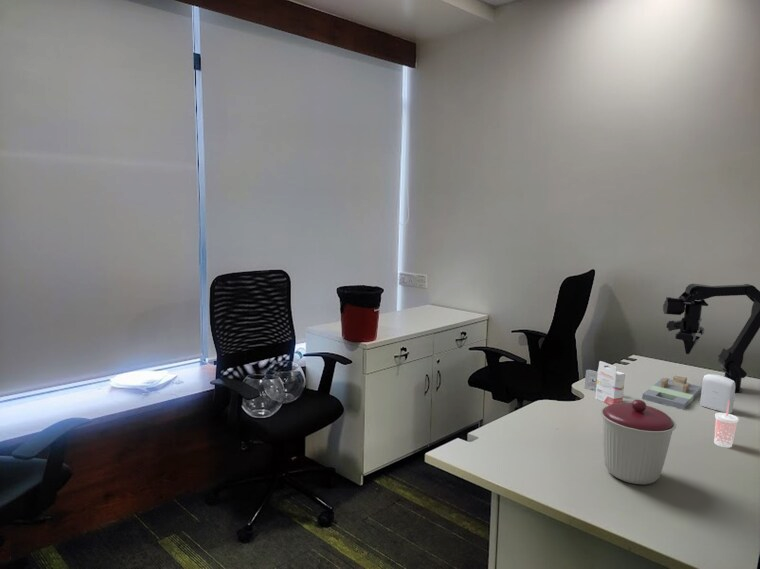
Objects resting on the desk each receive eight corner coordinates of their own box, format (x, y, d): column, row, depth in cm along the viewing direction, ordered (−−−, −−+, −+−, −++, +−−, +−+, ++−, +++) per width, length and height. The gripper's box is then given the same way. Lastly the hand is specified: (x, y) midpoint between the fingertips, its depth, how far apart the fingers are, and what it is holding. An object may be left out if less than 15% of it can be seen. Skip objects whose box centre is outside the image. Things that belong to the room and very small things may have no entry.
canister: (606, 452, 156) (613, 383, 153) (675, 473, 145) (685, 399, 142) (585, 476, 143) (593, 401, 139) (660, 501, 131) (670, 420, 128)
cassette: (583, 388, 209) (585, 370, 208) (585, 387, 211) (587, 368, 209) (615, 396, 202) (617, 377, 200) (617, 395, 203) (619, 376, 202)
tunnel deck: (662, 382, 219) (663, 371, 218) (701, 391, 209) (702, 380, 209) (642, 398, 200) (643, 387, 199) (683, 409, 190) (685, 397, 190)
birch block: (675, 382, 214) (676, 374, 213) (686, 384, 211) (687, 377, 210) (672, 384, 211) (673, 377, 210) (683, 387, 208) (684, 379, 207)
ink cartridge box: (622, 404, 194) (627, 365, 191) (613, 406, 191) (617, 367, 189) (604, 396, 201) (607, 358, 199) (594, 398, 199) (598, 360, 197)
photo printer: (697, 405, 194) (701, 373, 192) (702, 403, 197) (706, 371, 195) (729, 415, 187) (734, 381, 185) (733, 412, 189) (738, 378, 187)
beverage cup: (738, 449, 160) (744, 405, 158) (716, 447, 161) (722, 403, 159) (729, 440, 166) (735, 398, 164) (708, 438, 167) (713, 396, 165)
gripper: (676, 309, 224) (672, 345, 227) (663, 315, 210) (659, 354, 213) (706, 313, 217) (701, 350, 219) (695, 320, 203) (690, 360, 206)
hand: (687, 353), depth 214 cm, fingers closed
